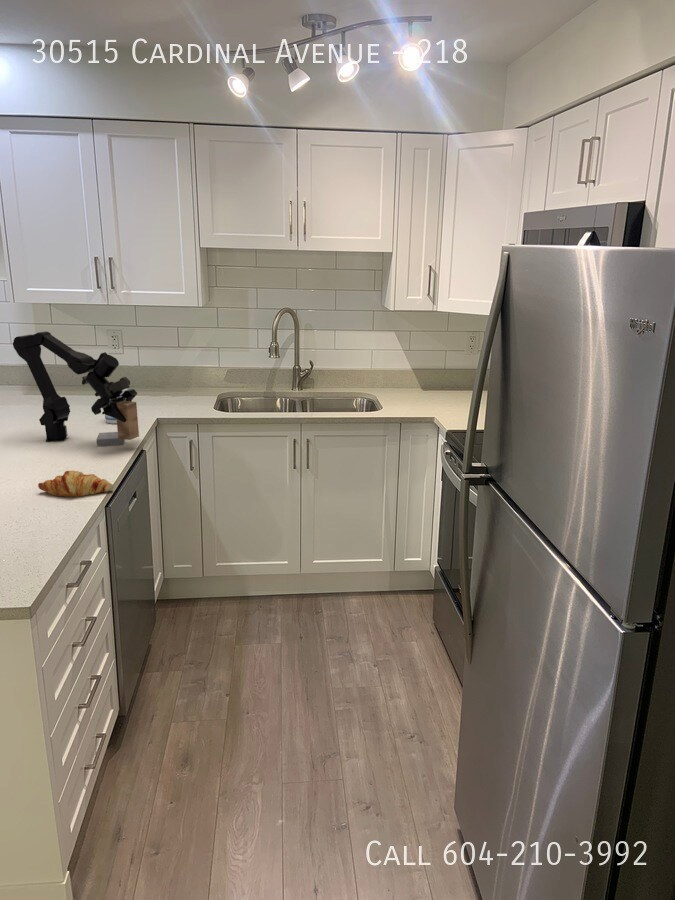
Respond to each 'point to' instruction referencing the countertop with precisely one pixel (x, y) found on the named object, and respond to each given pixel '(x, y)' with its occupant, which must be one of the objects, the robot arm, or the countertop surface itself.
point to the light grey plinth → (109, 439)
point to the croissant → (75, 485)
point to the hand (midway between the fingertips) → (130, 419)
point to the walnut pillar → (128, 421)
